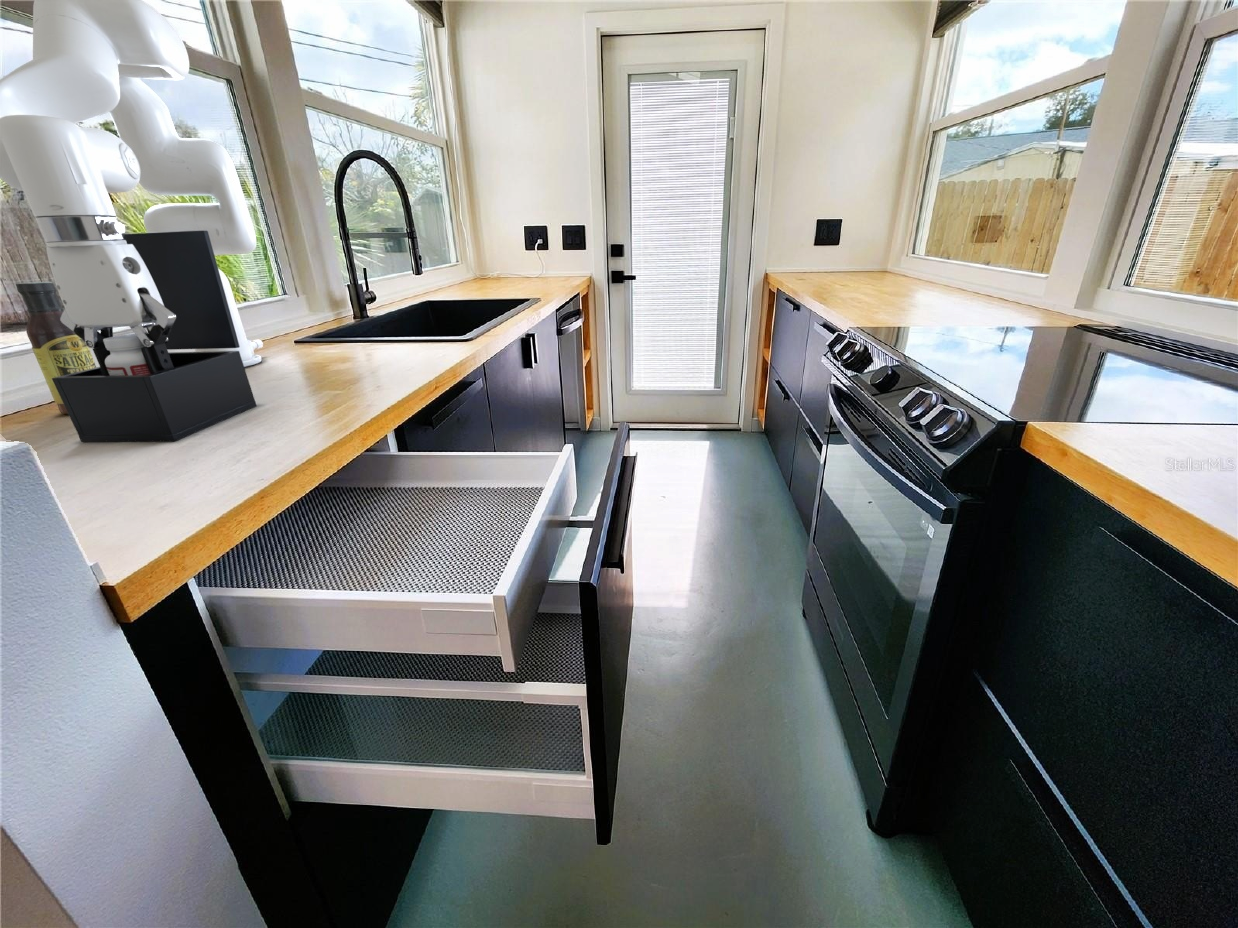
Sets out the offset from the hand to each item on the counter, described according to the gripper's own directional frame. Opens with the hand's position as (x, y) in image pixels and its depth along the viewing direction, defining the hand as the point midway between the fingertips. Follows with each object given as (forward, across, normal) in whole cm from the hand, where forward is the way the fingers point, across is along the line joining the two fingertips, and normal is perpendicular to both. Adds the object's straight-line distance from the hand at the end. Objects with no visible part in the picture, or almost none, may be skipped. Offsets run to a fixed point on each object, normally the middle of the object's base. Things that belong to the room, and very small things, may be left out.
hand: (140, 373), depth 74 cm
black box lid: (-10, 0, -10) cm, 14 cm away
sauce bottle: (+8, +22, -9) cm, 25 cm away
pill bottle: (+6, 0, 0) cm, 6 cm away
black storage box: (+8, 0, -2) cm, 8 cm away
